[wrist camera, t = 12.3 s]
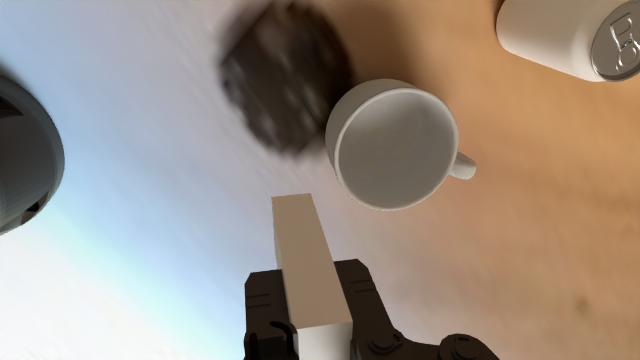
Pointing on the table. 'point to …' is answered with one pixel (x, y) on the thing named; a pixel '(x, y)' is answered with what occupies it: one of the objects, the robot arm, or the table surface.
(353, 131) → the teacup
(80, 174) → the table surface
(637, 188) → the table surface
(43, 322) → the table surface
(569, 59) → the can
